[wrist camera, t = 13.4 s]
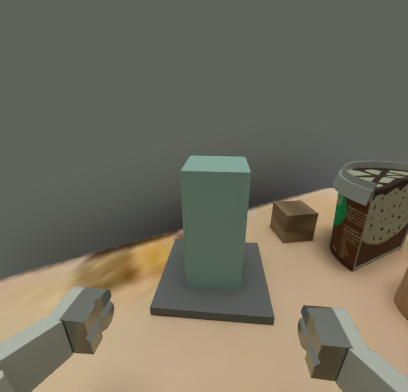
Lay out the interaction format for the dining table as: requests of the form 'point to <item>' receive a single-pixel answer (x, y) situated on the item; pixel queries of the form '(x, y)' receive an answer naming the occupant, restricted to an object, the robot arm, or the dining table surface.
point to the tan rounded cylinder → (403, 296)
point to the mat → (214, 292)
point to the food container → (369, 212)
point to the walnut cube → (293, 221)
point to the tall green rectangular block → (214, 220)
